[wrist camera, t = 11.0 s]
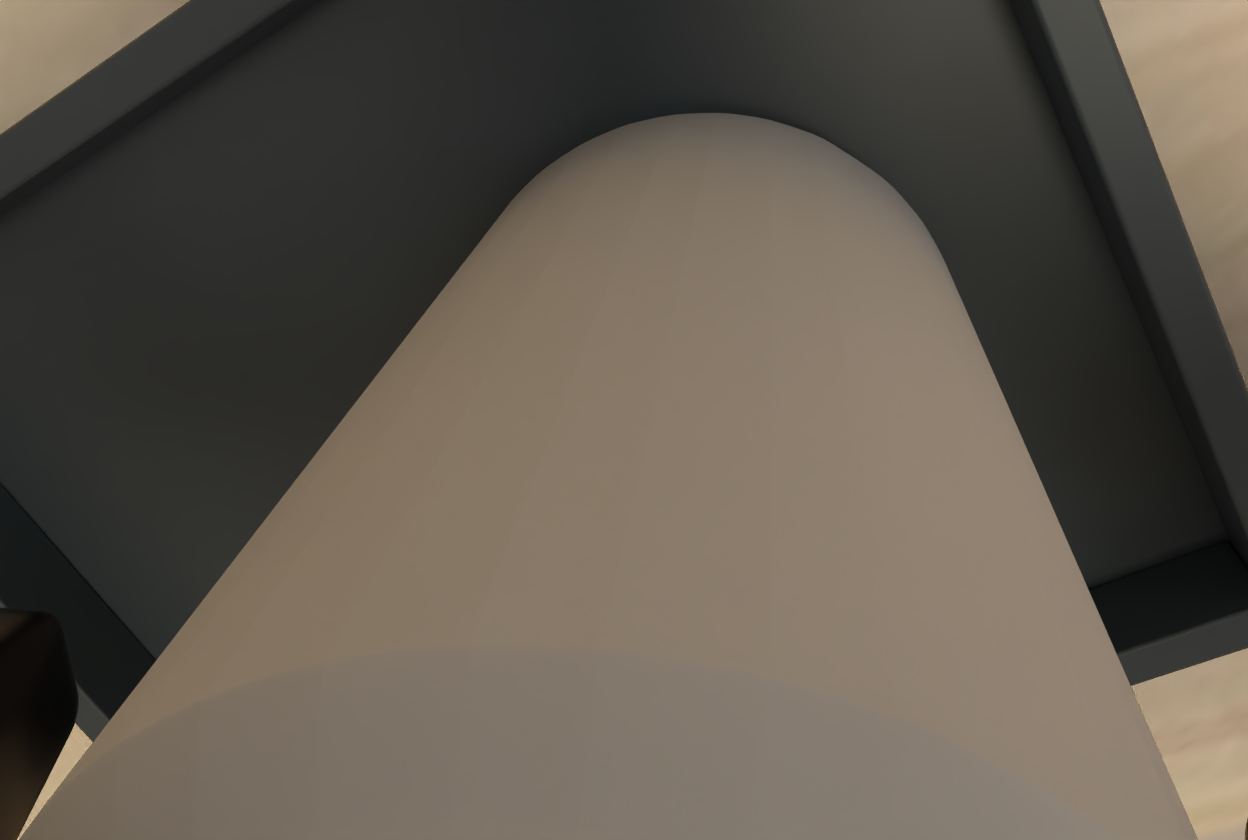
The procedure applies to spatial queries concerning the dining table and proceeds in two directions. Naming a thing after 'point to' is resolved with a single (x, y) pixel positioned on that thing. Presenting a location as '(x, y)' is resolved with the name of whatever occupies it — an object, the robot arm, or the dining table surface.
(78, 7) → the dining table surface
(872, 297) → the beverage can
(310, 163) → the rectangular tray
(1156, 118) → the dining table surface
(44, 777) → the robot arm
